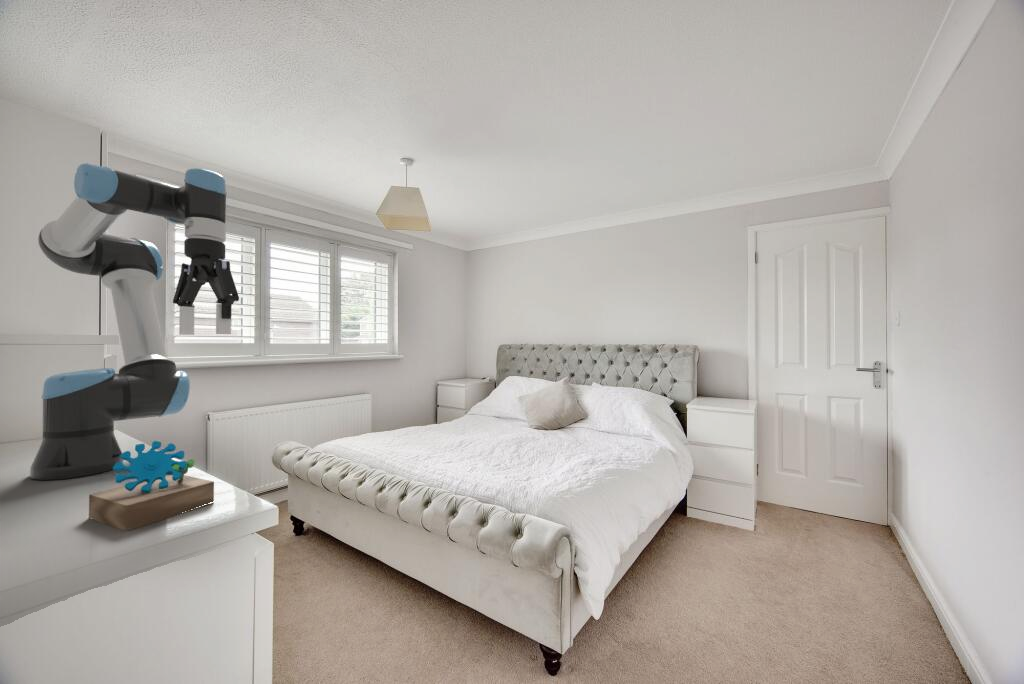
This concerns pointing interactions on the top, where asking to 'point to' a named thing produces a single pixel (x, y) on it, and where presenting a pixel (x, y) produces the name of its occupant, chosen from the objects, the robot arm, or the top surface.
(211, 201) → the robot arm
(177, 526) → the top surface
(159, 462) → the gear
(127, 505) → the brown rectangular block
